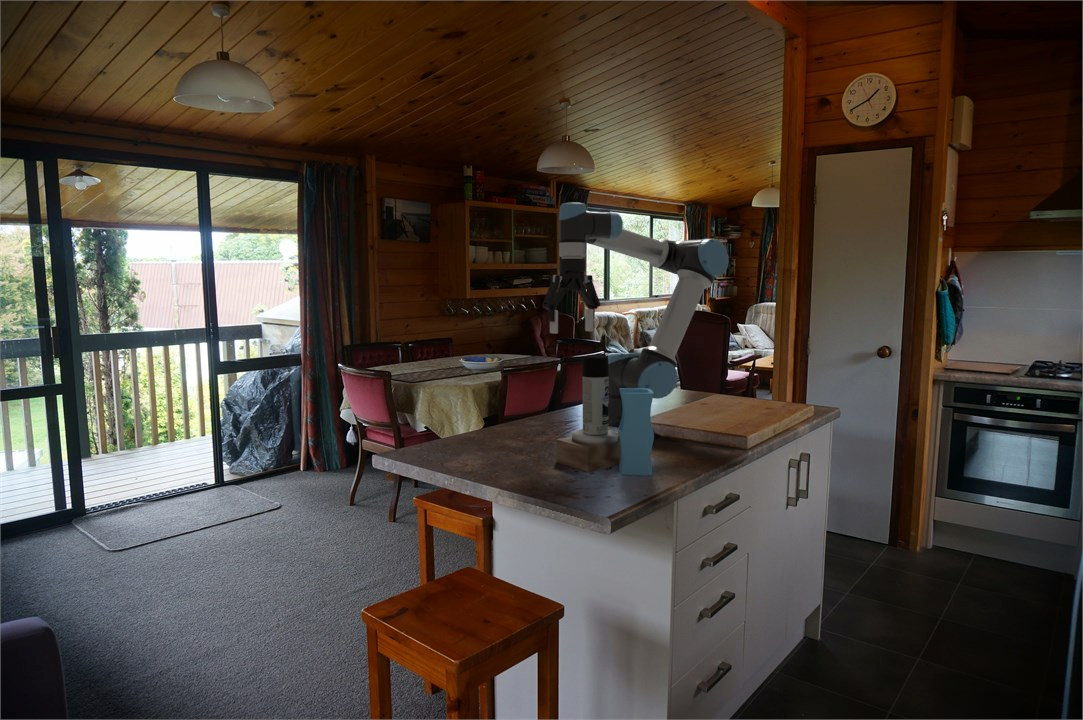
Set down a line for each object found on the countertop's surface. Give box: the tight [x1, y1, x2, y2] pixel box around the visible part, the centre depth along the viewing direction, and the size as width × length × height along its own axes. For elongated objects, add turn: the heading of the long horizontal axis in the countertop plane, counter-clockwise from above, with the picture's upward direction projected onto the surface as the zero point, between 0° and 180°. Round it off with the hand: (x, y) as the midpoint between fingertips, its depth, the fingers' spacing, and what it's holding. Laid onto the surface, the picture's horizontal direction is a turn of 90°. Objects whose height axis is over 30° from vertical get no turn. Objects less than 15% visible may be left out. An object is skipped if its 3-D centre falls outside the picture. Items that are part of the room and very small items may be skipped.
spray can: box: [581, 354, 609, 436], centre depth 180 cm, size 7×7×20 cm
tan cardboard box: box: [555, 428, 621, 473], centre depth 182 cm, size 16×12×8 cm
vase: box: [617, 388, 655, 476], centre depth 173 cm, size 8×8×20 cm
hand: (571, 332), depth 204 cm, fingers open, 13 cm apart
